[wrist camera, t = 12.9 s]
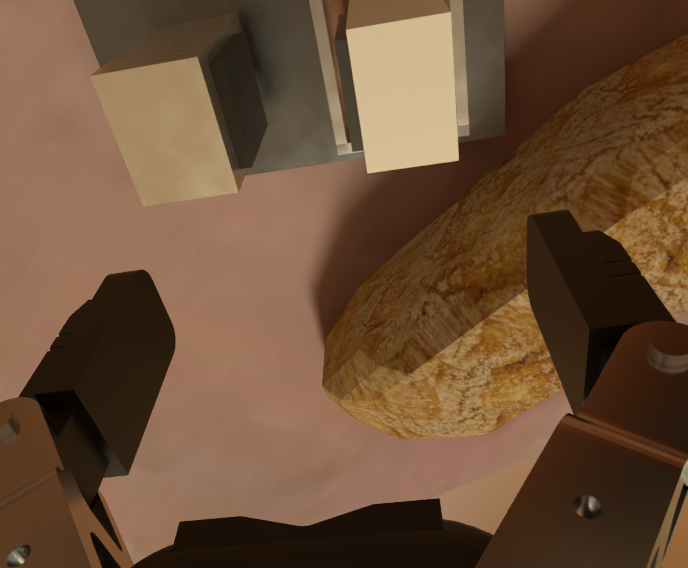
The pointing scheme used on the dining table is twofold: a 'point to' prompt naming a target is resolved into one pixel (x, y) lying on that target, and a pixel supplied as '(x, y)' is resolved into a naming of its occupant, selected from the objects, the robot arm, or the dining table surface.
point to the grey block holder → (254, 86)
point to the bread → (517, 261)
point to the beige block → (398, 82)
